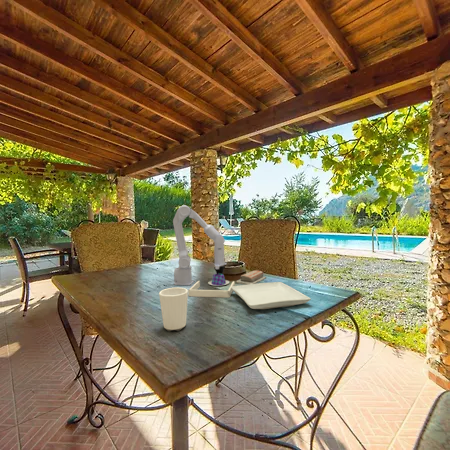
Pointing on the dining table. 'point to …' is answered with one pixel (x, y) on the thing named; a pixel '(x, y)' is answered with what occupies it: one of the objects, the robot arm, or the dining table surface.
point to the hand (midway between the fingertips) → (220, 279)
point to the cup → (174, 308)
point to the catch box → (209, 291)
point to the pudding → (218, 280)
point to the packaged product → (251, 277)
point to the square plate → (269, 295)
